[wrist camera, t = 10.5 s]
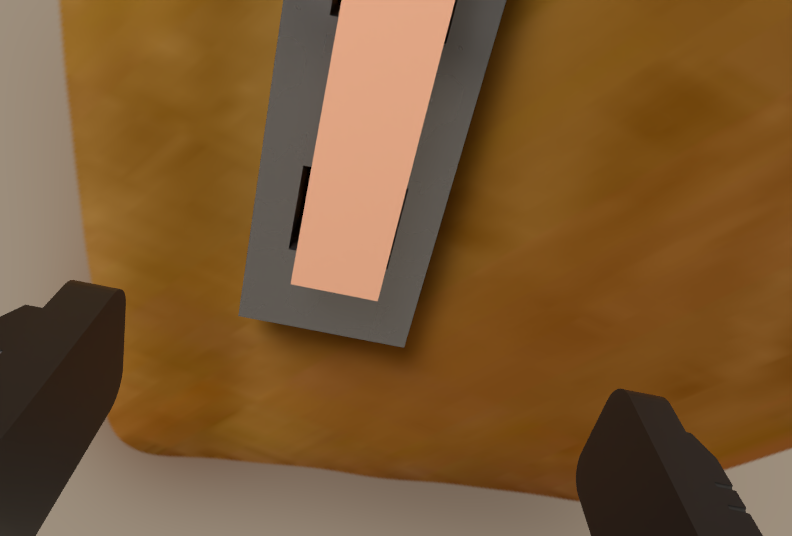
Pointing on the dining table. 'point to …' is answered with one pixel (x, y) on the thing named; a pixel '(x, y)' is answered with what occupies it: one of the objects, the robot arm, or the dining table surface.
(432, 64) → the block
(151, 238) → the dining table surface
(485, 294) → the dining table surface
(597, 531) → the robot arm
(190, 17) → the dining table surface
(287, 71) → the rail
